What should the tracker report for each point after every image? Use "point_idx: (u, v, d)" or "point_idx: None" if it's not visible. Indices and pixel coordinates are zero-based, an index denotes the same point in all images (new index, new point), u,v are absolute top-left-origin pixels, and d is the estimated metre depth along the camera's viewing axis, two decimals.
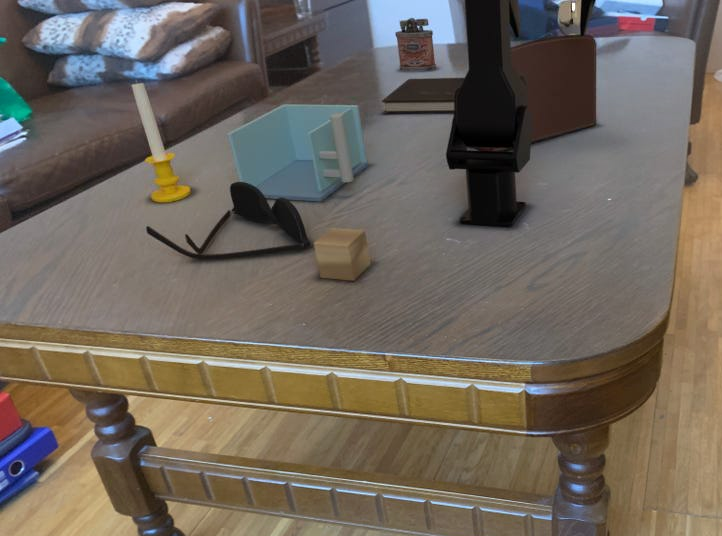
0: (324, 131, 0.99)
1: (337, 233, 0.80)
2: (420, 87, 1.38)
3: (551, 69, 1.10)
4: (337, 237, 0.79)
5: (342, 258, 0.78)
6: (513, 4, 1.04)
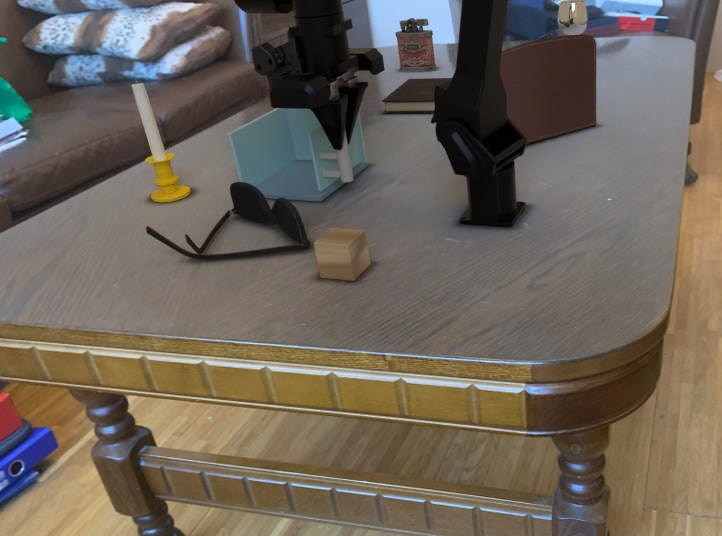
0: None
1: (337, 233, 0.80)
2: (420, 87, 1.38)
3: (551, 69, 1.10)
4: (337, 237, 0.79)
5: (342, 258, 0.78)
6: None
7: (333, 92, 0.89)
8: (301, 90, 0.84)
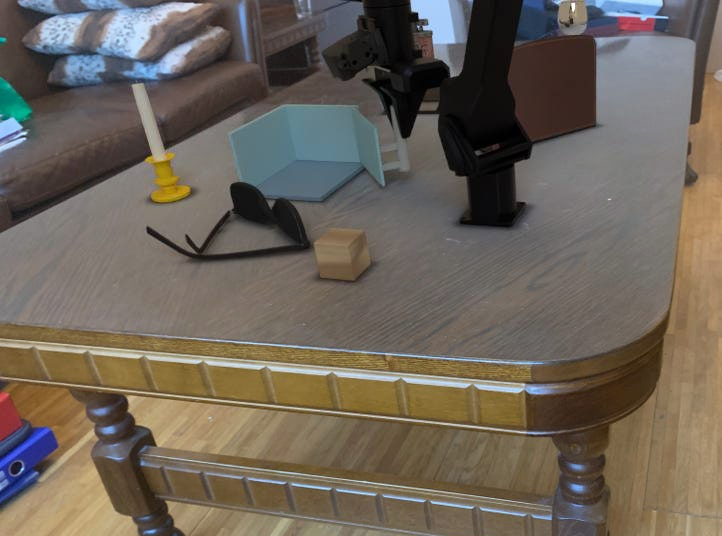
0: None
1: (337, 233, 0.80)
2: None
3: (551, 69, 1.10)
4: (337, 237, 0.79)
5: (342, 258, 0.78)
6: None
7: None
8: (441, 68, 0.88)
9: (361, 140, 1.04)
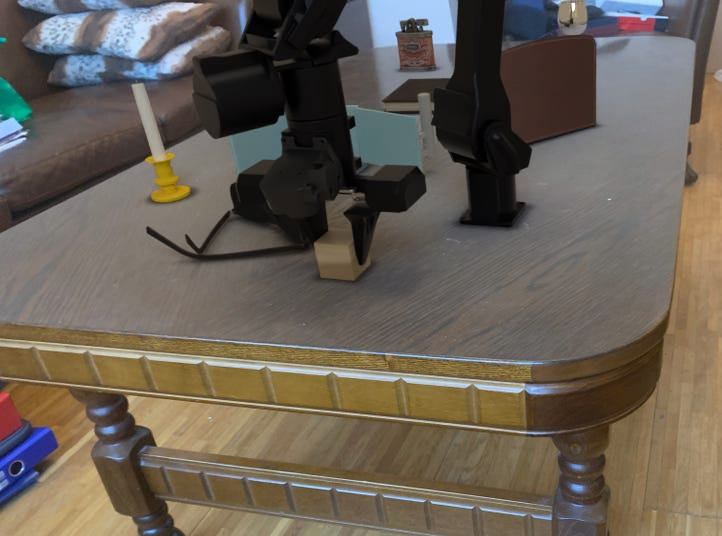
0: None
1: (337, 233, 0.80)
2: (420, 87, 1.38)
3: (551, 69, 1.10)
4: (337, 237, 0.79)
5: (342, 258, 0.78)
6: None
7: None
8: (420, 175, 0.74)
9: (373, 137, 1.05)
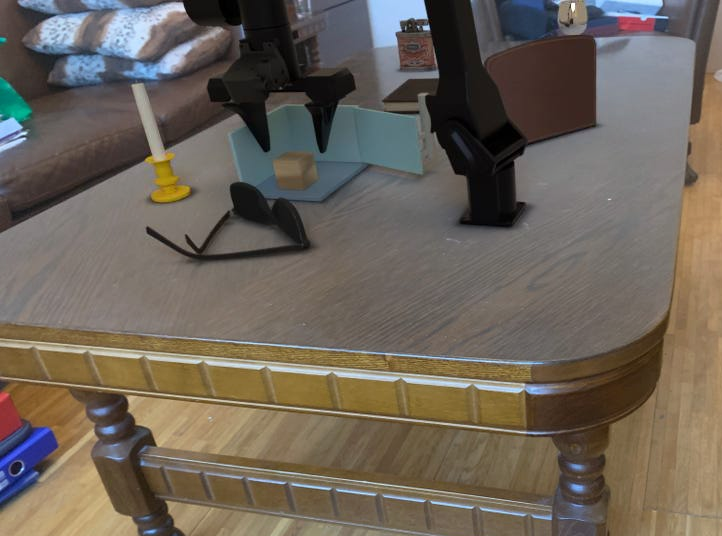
0: None
1: (291, 154, 1.02)
2: (420, 87, 1.38)
3: (551, 69, 1.10)
4: (290, 156, 1.01)
5: (294, 172, 1.00)
6: None
7: None
8: (349, 74, 0.94)
9: (373, 137, 1.05)
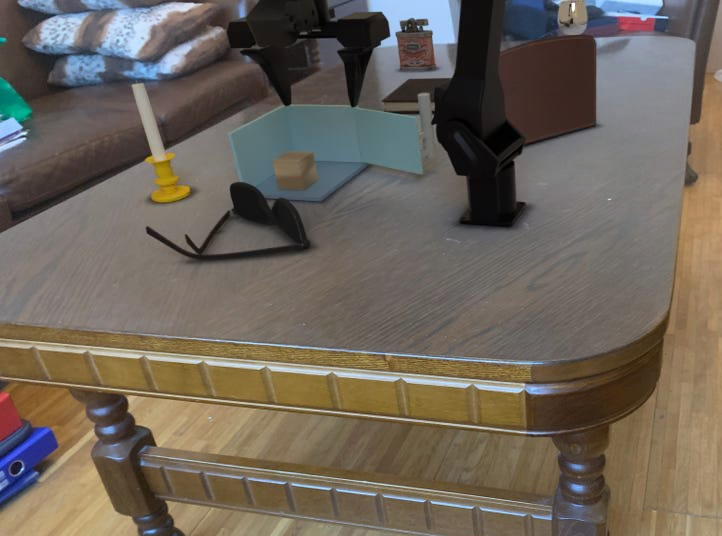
0: None
1: (291, 154, 1.02)
2: (420, 87, 1.38)
3: (551, 69, 1.10)
4: (290, 156, 1.01)
5: (294, 172, 1.00)
6: None
7: None
8: (384, 19, 0.86)
9: (373, 137, 1.05)
